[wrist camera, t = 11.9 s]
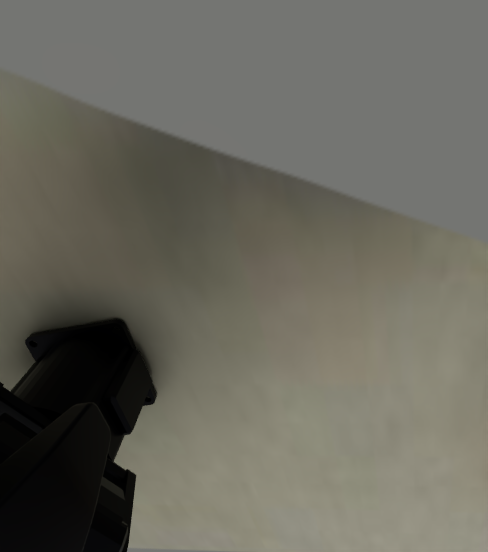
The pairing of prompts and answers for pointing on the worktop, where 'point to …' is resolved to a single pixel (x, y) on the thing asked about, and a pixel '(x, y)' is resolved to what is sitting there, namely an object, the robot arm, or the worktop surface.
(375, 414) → the worktop surface
